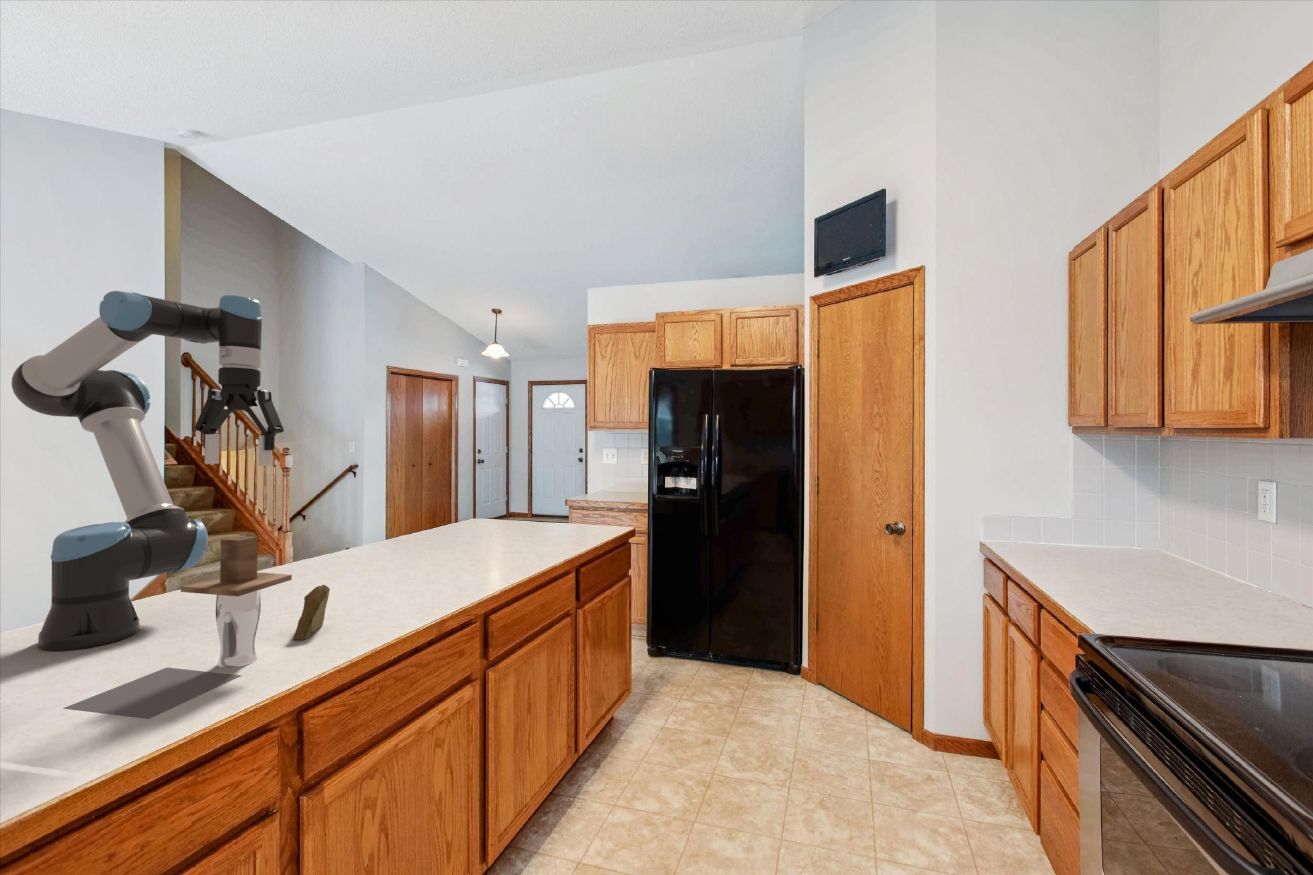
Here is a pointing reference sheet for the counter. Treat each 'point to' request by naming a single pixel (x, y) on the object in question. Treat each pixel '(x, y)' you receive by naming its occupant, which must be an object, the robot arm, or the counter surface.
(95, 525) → the robot arm
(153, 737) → the counter surface
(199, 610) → the counter surface
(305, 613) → the rock
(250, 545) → the lid
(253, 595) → the beer glass
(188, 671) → the mat
